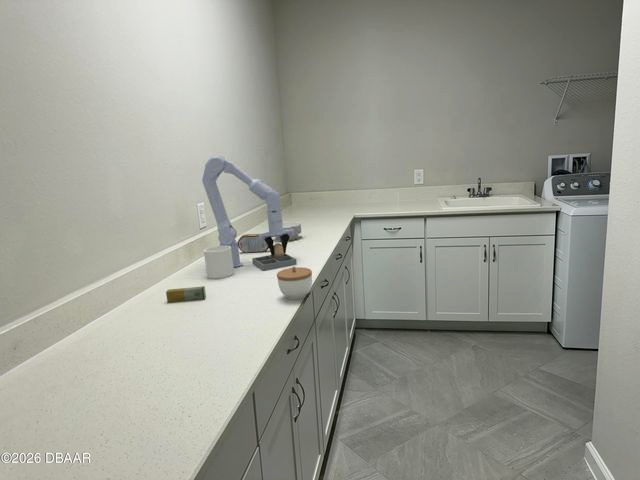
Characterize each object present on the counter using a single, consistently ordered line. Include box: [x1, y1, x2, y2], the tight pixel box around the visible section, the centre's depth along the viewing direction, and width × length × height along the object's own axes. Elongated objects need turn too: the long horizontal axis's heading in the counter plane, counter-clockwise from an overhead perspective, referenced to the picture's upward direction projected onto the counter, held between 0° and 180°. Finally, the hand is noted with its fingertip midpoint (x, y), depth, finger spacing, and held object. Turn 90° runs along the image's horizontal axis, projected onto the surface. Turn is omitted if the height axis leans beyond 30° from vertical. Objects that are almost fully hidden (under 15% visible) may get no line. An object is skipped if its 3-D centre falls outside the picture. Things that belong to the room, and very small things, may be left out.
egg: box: [273, 242, 284, 258], centre depth 175 cm, size 4×4×6 cm
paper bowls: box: [273, 221, 302, 242], centre depth 217 cm, size 15×15×8 cm
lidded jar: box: [276, 266, 313, 301], centre depth 131 cm, size 11×11×9 cm
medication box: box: [165, 285, 207, 304], centre depth 136 cm, size 12×3×4 cm, turn 93°
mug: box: [203, 245, 235, 280], centre depth 162 cm, size 13×10×10 cm
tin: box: [237, 233, 270, 254], centre depth 194 cm, size 15×3×8 cm, turn 84°
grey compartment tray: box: [251, 253, 298, 272], centre depth 171 cm, size 14×14×2 cm
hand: (278, 253), depth 175 cm, fingers closed on egg, 4 cm apart
